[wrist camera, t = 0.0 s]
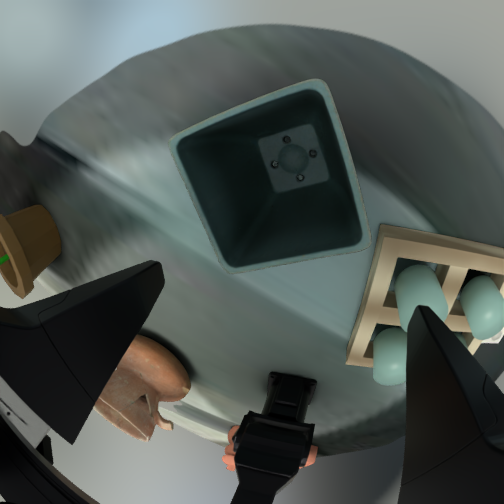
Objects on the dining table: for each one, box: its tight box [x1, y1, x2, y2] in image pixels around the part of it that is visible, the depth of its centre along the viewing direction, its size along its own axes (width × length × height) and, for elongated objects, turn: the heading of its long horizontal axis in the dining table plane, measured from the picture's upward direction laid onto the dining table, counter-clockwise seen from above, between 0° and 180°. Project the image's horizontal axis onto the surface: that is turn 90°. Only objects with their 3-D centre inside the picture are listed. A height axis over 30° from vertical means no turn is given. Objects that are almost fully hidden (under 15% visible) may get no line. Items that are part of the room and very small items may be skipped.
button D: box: [460, 275, 504, 340], centre depth 16 cm, size 4×4×4 cm
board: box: [346, 224, 504, 367], centre depth 21 cm, size 15×15×2 cm
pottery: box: [222, 426, 318, 471], centre depth 43 cm, size 18×10×10 cm, turn 72°
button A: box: [373, 328, 407, 386], centre depth 22 cm, size 4×4×4 cm
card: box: [481, 327, 504, 343], centre depth 21 cm, size 5×5×1 cm
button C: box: [394, 265, 449, 332], centre depth 18 cm, size 4×4×4 cm
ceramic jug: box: [93, 334, 191, 442], centre depth 36 cm, size 18×14×14 cm
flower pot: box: [168, 79, 372, 274], centre depth 17 cm, size 9×9×9 cm
